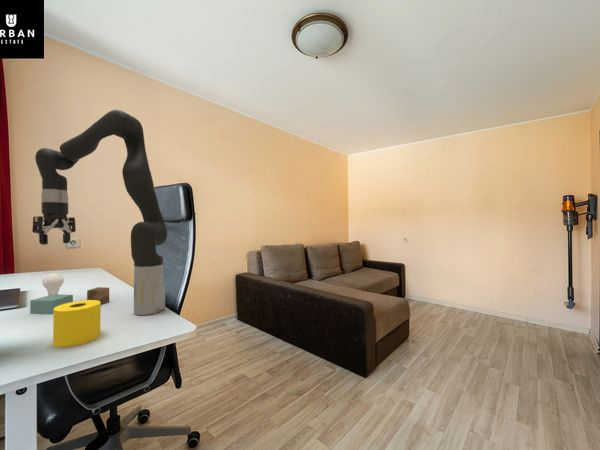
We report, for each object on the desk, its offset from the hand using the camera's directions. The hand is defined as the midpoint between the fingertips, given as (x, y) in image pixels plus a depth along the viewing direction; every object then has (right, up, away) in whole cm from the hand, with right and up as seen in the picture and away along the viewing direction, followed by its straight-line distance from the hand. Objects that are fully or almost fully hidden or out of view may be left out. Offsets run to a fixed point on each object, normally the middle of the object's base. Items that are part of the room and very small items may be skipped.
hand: (55, 243), depth 99 cm
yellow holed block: (+32, -25, -27) cm, 49 cm away
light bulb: (-11, -25, +10) cm, 29 cm away
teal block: (+2, -25, -4) cm, 25 cm away
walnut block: (+13, -25, +4) cm, 28 cm away
